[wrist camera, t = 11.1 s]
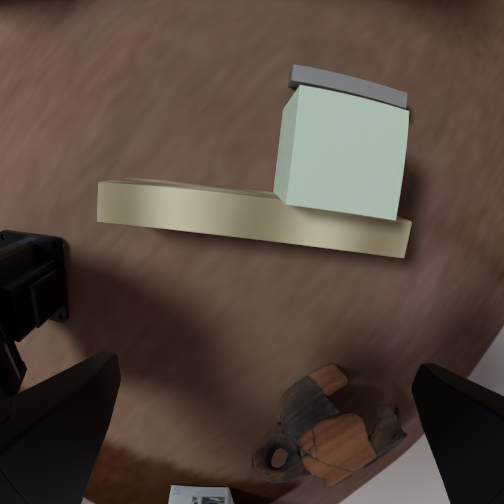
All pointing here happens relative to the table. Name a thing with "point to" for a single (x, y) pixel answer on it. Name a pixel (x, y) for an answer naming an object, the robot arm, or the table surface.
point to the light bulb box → (200, 495)
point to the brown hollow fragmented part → (324, 433)
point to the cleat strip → (345, 85)
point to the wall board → (245, 216)
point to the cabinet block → (341, 153)
